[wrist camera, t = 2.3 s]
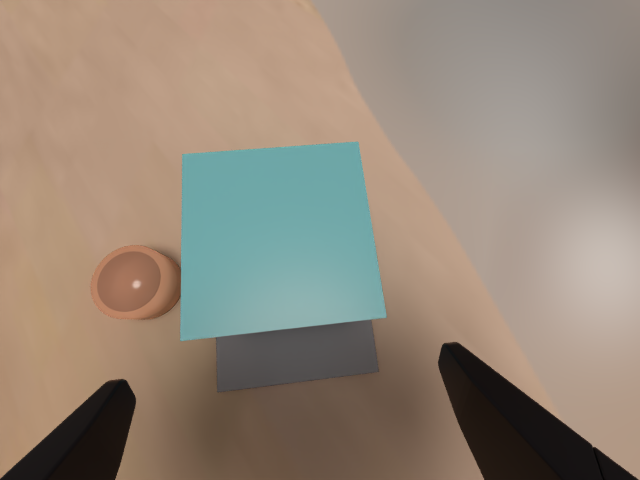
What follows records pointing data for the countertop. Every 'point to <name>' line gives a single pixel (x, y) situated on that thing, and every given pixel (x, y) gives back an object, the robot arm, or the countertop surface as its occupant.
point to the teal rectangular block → (276, 241)
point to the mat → (295, 355)
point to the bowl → (136, 283)
